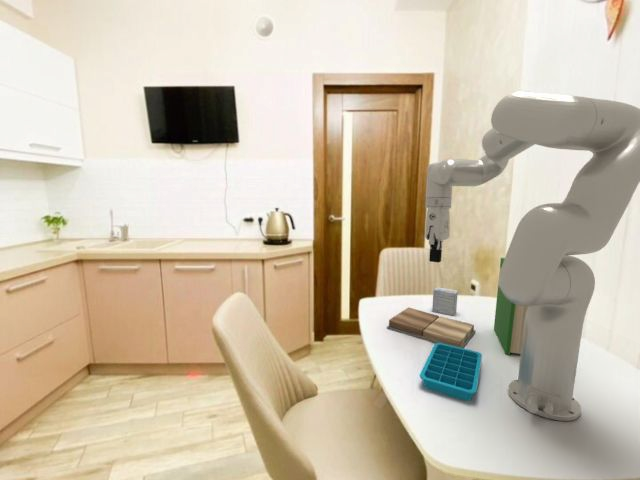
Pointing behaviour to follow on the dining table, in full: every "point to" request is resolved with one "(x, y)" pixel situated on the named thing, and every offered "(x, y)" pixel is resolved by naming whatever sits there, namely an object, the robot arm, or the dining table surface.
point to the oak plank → (449, 331)
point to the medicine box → (444, 301)
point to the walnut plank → (413, 321)
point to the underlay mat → (427, 338)
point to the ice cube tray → (452, 371)
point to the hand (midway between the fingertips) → (435, 261)
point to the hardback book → (509, 322)
